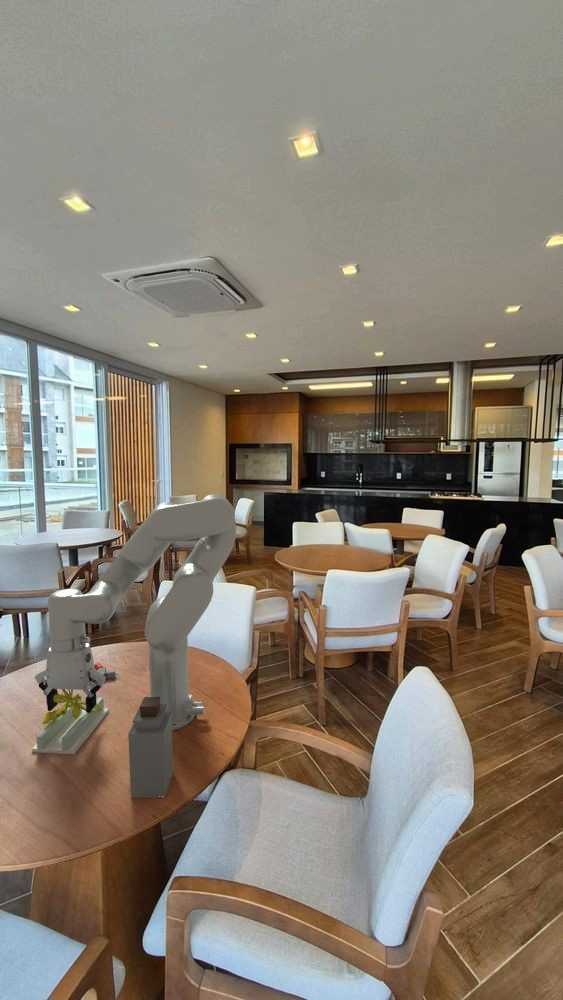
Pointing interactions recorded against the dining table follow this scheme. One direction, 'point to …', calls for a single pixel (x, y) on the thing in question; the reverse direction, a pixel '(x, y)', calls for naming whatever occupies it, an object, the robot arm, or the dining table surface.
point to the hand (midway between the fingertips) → (72, 708)
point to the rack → (69, 731)
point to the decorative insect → (67, 706)
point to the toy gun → (104, 672)
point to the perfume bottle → (151, 749)
